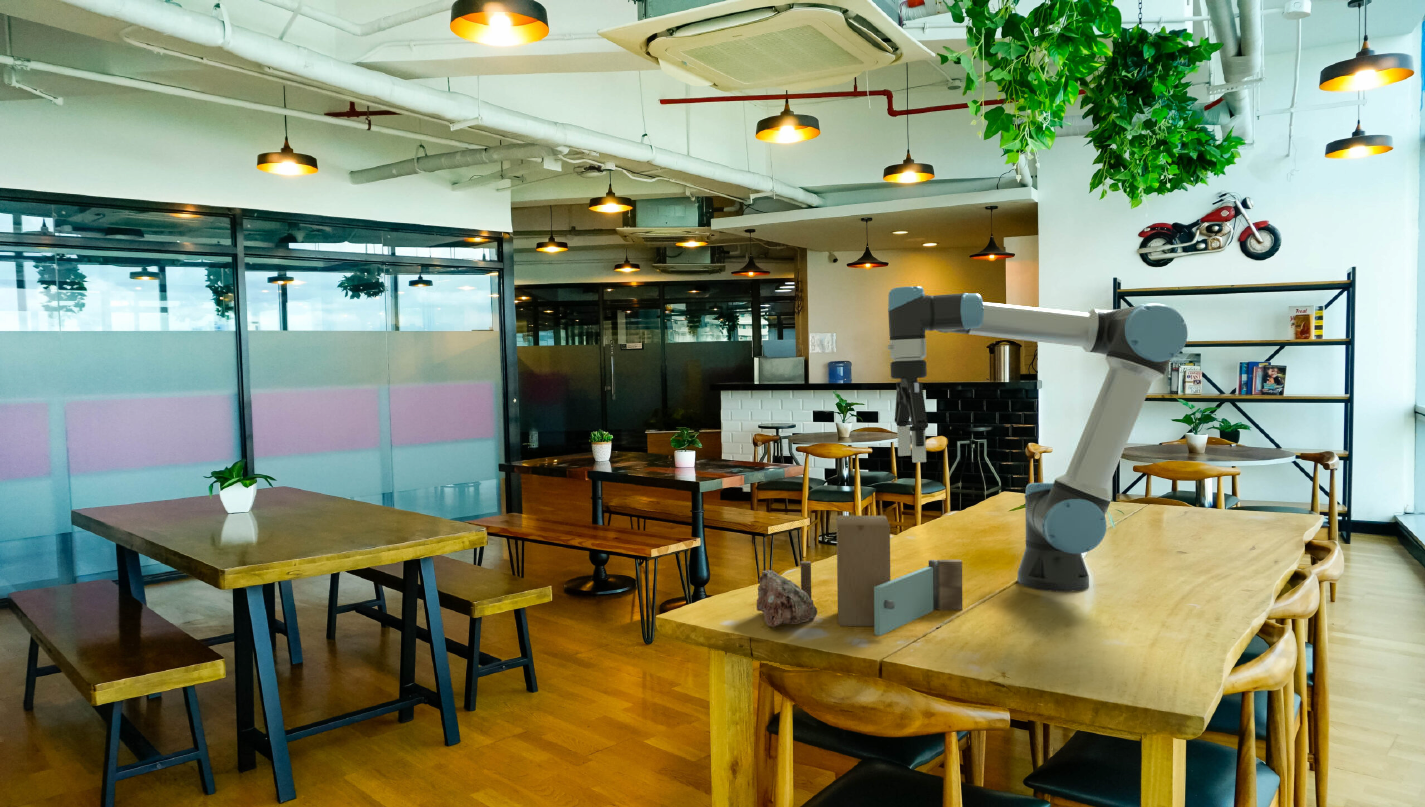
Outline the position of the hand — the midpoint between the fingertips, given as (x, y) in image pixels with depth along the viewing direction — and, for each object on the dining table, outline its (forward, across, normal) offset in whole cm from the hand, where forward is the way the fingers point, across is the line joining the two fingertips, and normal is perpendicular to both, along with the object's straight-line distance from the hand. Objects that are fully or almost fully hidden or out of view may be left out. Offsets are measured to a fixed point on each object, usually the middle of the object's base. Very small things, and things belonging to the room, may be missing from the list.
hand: (911, 458), depth 192 cm
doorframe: (+30, +9, -10) cm, 33 cm away
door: (+30, +19, -6) cm, 36 cm away
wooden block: (+30, +16, -14) cm, 37 cm away
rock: (+30, +16, -30) cm, 45 cm away
